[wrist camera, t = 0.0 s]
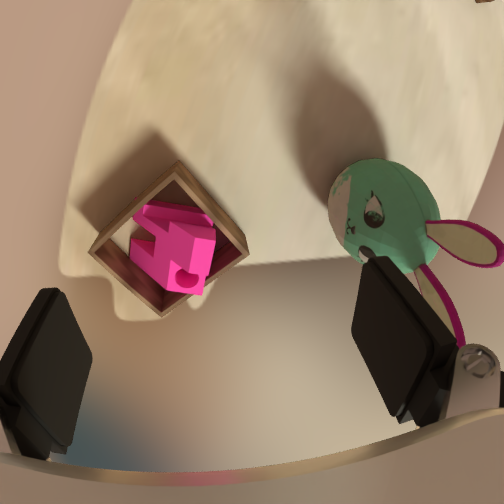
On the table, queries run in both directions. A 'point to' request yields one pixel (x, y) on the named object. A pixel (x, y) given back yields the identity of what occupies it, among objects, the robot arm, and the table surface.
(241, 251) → the display box
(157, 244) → the bracket
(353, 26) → the table surface
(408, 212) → the toy
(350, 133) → the table surface
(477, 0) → the channel
